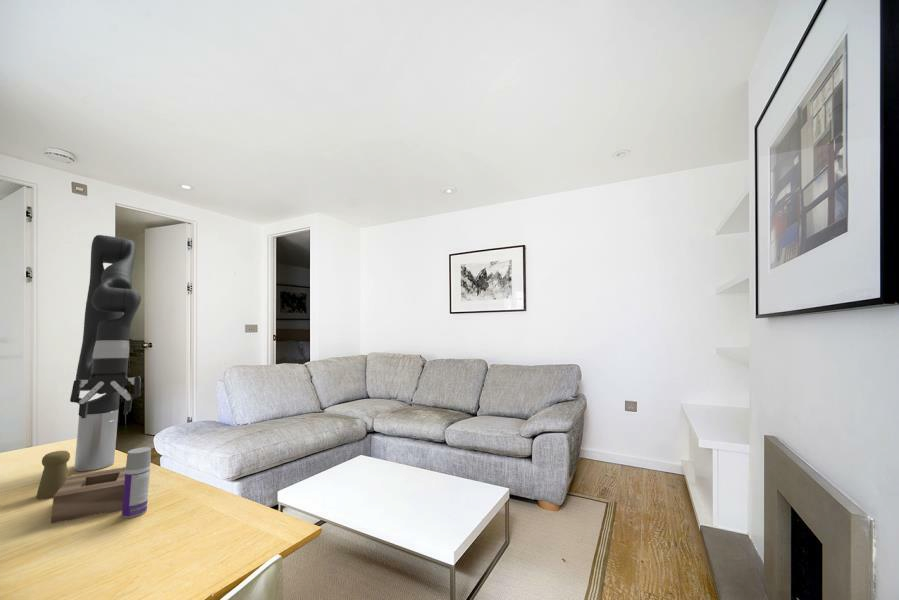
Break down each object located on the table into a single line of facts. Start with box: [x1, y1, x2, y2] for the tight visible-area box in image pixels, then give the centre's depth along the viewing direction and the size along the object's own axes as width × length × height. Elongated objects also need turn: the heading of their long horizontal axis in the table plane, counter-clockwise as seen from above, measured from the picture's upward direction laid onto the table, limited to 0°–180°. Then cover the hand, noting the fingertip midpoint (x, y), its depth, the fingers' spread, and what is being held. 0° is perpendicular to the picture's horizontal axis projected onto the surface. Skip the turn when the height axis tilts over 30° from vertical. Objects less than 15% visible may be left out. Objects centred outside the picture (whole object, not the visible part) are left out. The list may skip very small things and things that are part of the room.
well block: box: [50, 466, 126, 524], centre depth 94 cm, size 14×14×6 cm
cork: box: [35, 450, 71, 500], centre depth 99 cm, size 6×6×11 cm
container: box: [121, 446, 152, 519], centre depth 90 cm, size 5×5×15 cm
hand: (105, 416), depth 102 cm, fingers open, 8 cm apart
